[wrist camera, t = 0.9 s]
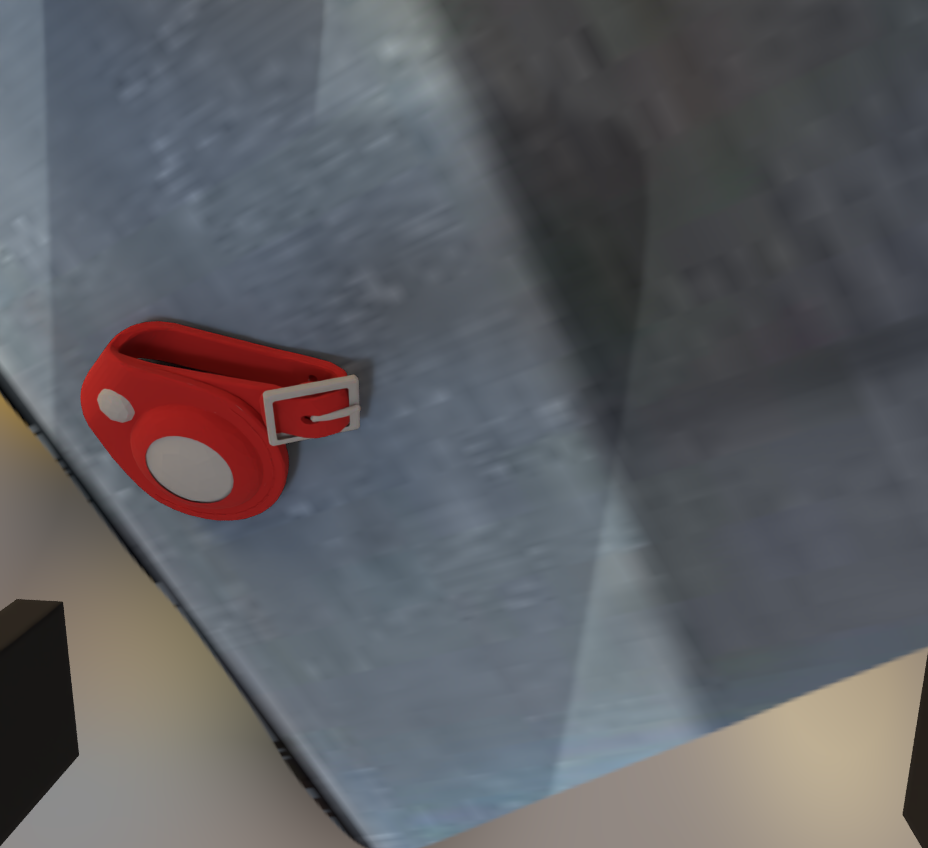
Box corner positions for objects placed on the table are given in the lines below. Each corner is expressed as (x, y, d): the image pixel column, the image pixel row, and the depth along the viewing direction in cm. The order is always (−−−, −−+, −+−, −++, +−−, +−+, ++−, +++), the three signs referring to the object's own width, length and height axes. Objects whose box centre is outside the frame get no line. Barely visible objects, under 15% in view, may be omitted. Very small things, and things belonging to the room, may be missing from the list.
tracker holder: (228, 568, 40) (31, 449, 37) (260, 501, 43) (82, 386, 40) (375, 433, 33) (148, 271, 30) (401, 366, 36) (198, 214, 33)
